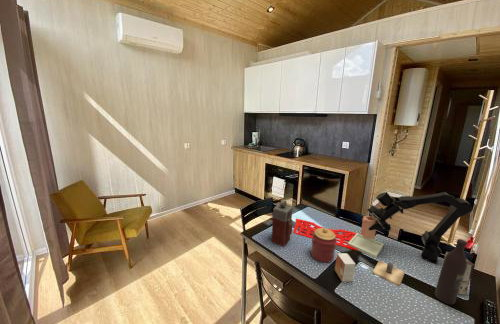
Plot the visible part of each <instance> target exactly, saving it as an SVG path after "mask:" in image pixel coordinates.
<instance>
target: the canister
mask: <svg viewBox="0 0 500 324" xmlns="http://www.w3.org/2000/svg"><path fill="white" fill-rule="evenodd" d="M329 229H330V228H327V227H324V228H319V229H316V230H315V231H314V232H312V233H313V235H311V236H313V239H311V248H310V253H311V256H312V257H313V259H314V260H316V261H319V262H321V263H330V262H332V261H333V260H334V259H335V250H336V246H337V245H336V244H335V243H336V242H338V241H337V240H336V239H337V238H336V237H335V234H334V233H333V232H332V231H331V230H329Z"/></svg>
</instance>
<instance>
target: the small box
mask: <svg viewBox="0 0 500 324" xmlns="http://www.w3.org/2000/svg"><path fill="white" fill-rule="evenodd" d="M356 266H357V265H356V263H355V261H354V260H353V259H352V257H351V256H350V254H348V253H347V252H346V253H342V252H341V253H337V254H336V260H335V266H334V272H335V273H336V274H337V276H338V278H339V279H340V281H341V282H342V283H345V282H346V283H347V282H353V280H354V274H355V270H356Z"/></svg>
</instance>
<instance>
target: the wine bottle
mask: <svg viewBox="0 0 500 324" xmlns="http://www.w3.org/2000/svg"><path fill="white" fill-rule="evenodd" d="M466 246H467V241H466V240H465V239H461V238H459V239H457V240H456V246H455V247H454V248H453V249H452V250H451V251H448V252H449V253H448V254H447V255H446V257H445V256H444V258H445V259H444V258H443V262H444V263H442V265H443V266H442V267H441V270H440V272H439V273H440V274H439V276H438V279H437V284H436V288H435V289H434V290H435V291H434V296H435V297H436V299H437V300H438V301H441V302H442V303H444V304H446V305H451V306H452V305H455V304H456V302H457V298H458V292H459V289H460V286H461V283H462V280H463V277H464V274H465V271H466V268H467V260H466V258H467V257H466V255H465V247H466Z"/></svg>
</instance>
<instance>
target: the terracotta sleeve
mask: <svg viewBox="0 0 500 324" xmlns="http://www.w3.org/2000/svg"><path fill="white" fill-rule="evenodd" d="M376 220H377V219H376V218H374V217H372V216H369V215H363V217H362V219H361V221H362V223H361V230H360V234H362V236H363V237H364V238H365V239H373V240H375V237H376V231H377V230H369V228H370V227H371V226H372V225H374V224H375V222H376Z"/></svg>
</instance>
